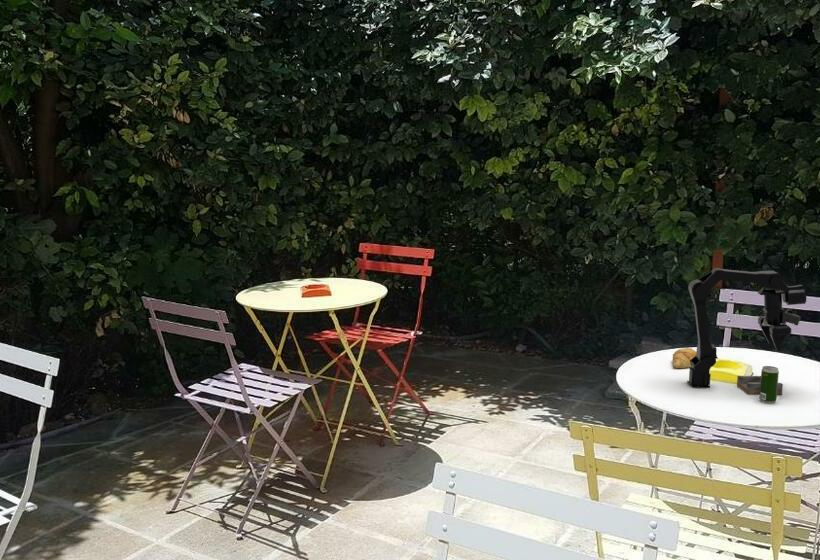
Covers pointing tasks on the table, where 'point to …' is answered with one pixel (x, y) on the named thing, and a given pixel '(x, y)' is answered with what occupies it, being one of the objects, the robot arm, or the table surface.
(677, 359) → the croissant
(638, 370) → the table surface
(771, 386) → the beer can
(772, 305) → the robot arm
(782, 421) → the table surface
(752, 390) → the track board
